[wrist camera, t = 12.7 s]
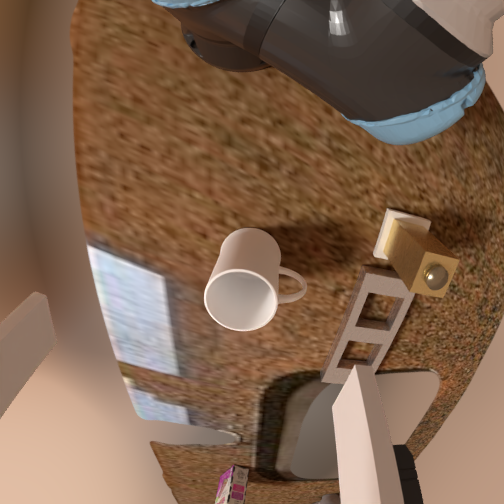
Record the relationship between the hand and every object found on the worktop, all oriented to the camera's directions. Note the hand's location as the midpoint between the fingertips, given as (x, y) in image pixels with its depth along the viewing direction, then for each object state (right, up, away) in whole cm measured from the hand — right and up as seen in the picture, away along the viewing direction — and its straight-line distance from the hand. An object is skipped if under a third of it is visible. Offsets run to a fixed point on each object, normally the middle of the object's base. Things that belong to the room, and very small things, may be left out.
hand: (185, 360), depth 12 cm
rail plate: (+21, -8, +36) cm, 43 cm away
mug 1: (+4, +3, +33) cm, 34 cm away
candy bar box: (-3, -58, +61) cm, 85 cm away
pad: (+24, +6, +30) cm, 39 cm away
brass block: (+24, +6, +29) cm, 38 cm away
